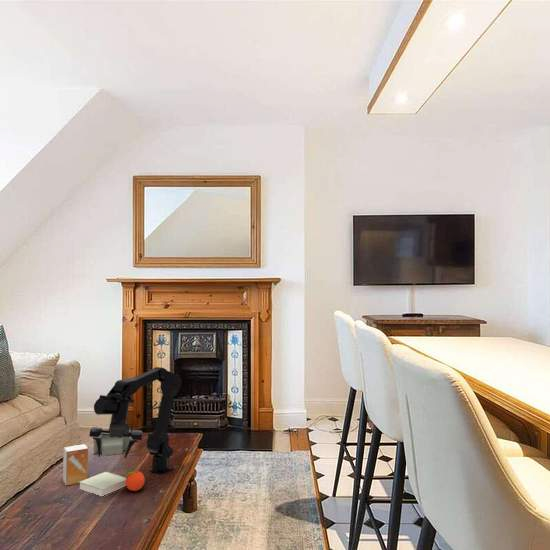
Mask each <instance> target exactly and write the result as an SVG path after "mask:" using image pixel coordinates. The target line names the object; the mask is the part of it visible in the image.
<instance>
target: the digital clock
mask: <svg viewBox="0 0 550 550" xmlns="http://www.w3.org/2000/svg"><path fill="white" fill-rule="evenodd" d="M129 432H132V430H131V428H130V429H129ZM101 436H102V440H101V454H102V455H101V456H102V457H106V456H105V455H109V456H114V455H113V454H118V455H122V454H121V453H123V452H124V451H126V450H127V446H128V443H129V439H130V437H122V438H118V437H110V436H108V435H101ZM93 452H94V453H96V454H98V447H97V443H96V440H95V439H93ZM123 454H124V453H123Z"/></svg>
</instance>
